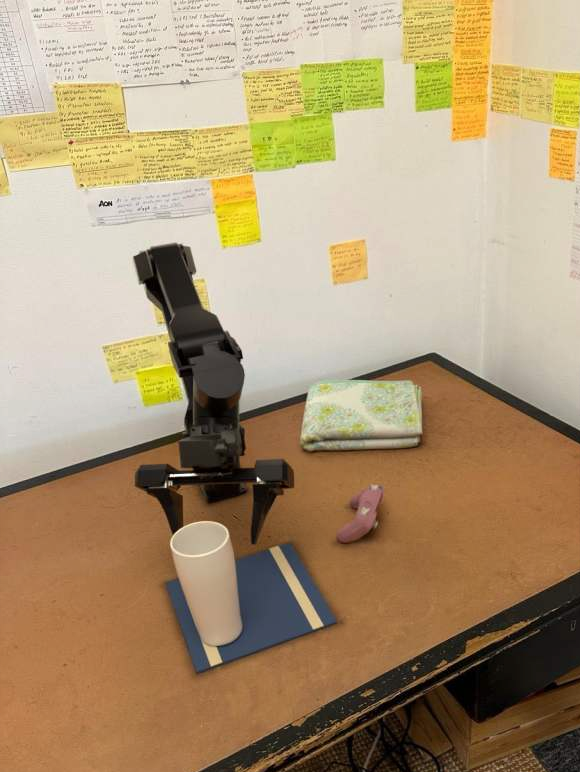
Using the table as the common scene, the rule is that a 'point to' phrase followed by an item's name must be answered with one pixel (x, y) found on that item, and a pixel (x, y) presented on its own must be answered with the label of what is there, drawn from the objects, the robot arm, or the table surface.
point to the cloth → (260, 607)
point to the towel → (362, 415)
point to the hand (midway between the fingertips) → (216, 545)
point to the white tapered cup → (209, 579)
